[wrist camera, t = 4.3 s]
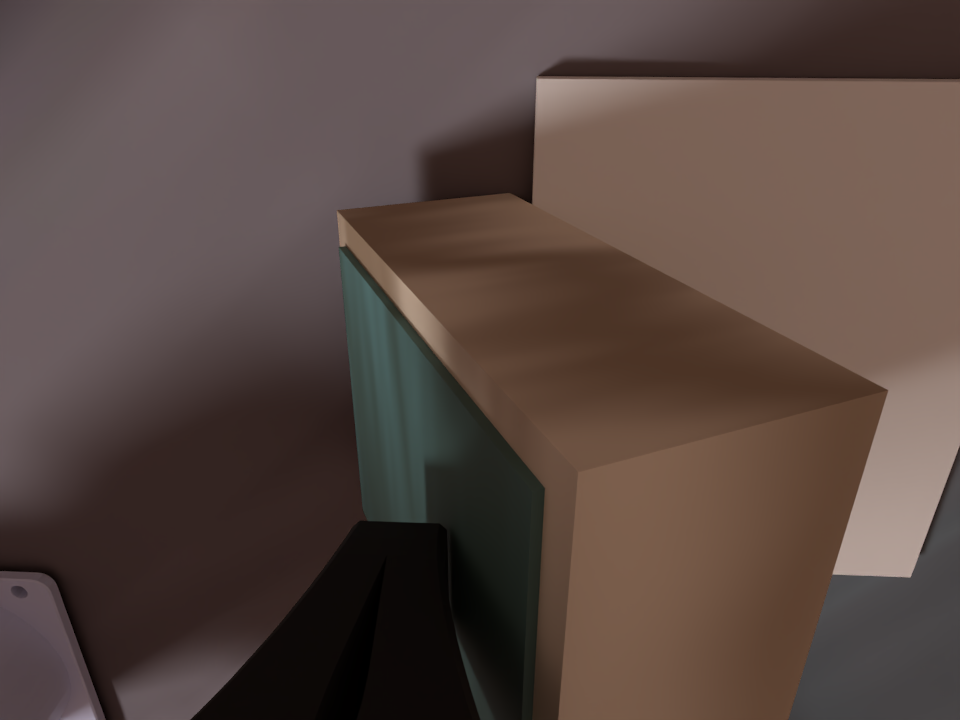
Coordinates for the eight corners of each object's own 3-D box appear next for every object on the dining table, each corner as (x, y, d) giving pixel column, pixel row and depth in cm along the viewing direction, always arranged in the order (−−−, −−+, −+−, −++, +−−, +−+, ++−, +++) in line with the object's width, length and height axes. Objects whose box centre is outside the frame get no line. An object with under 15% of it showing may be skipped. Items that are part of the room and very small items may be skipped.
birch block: (358, 514, 18) (532, 932, 10) (329, 210, 15) (563, 475, 6) (503, 477, 20) (758, 816, 12) (509, 193, 16) (888, 390, 8)
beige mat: (519, 547, 21) (519, 562, 20) (536, 75, 15) (537, 78, 14) (900, 562, 20) (910, 577, 20) (1073, 79, 14) (1095, 82, 14)
